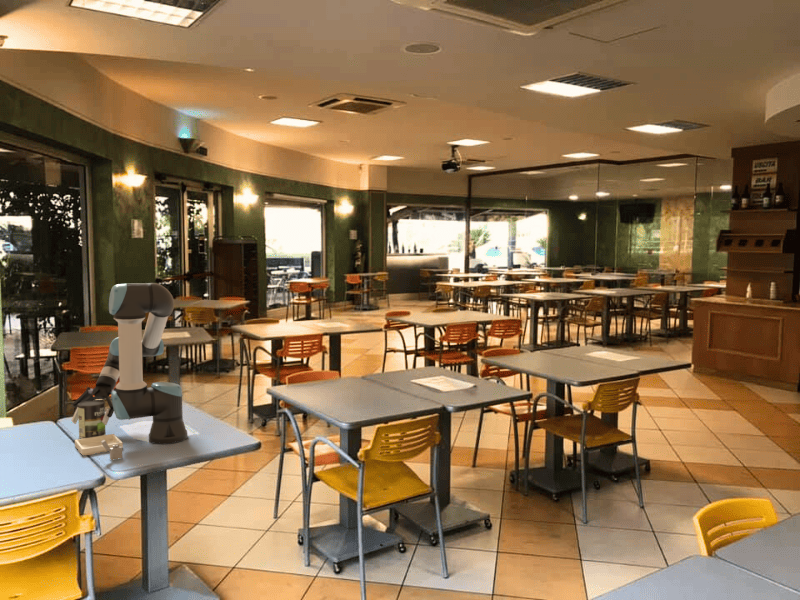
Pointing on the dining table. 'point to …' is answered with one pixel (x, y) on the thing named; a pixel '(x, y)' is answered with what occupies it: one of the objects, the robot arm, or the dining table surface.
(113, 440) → the pocket tray
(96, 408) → the coffee can
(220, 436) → the dining table surface
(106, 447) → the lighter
